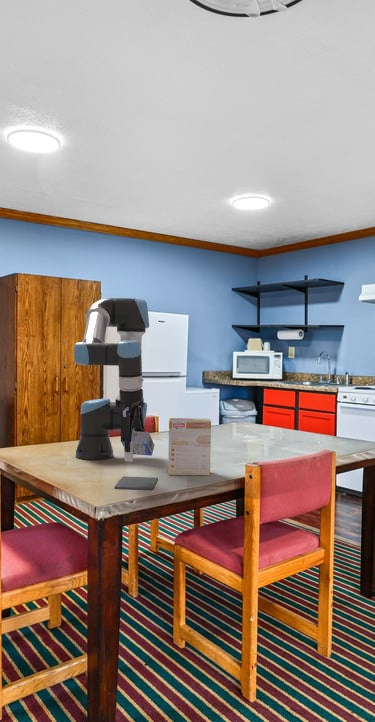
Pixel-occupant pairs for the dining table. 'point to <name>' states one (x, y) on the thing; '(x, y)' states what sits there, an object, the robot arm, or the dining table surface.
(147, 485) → the mat
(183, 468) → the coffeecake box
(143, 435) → the medicine box
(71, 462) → the dining table surface
